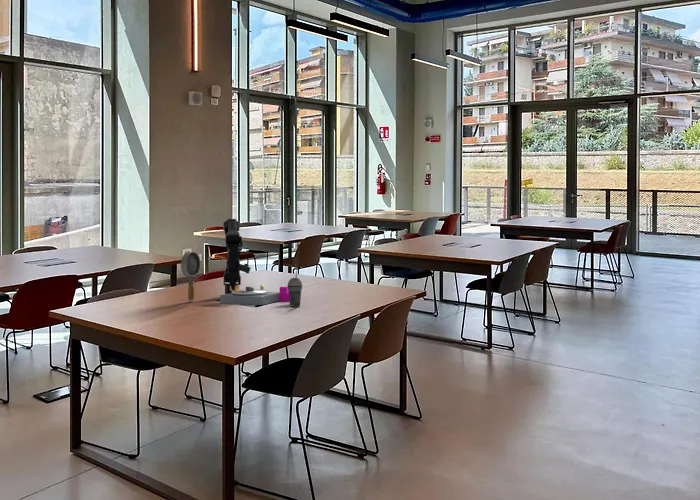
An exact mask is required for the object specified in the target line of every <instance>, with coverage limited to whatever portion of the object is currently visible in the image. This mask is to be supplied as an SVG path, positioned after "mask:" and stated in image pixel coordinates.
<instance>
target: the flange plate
mask: <svg viewBox="0 0 700 500" xmlns="http://www.w3.org/2000/svg"><path fill="white" fill-rule="evenodd" d="M230 291H232V294H235V295H262V294H267V293H268V292H269V291H268V290H266V289H264V290H261V288H260V289H257V288H256V289H255V288H254V286H245V289H240V285H235V290H232V288H231V285H230Z"/></svg>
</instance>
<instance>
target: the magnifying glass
mask: <svg viewBox="0 0 700 500" xmlns="http://www.w3.org/2000/svg"><path fill="white" fill-rule="evenodd" d="M180 261H181V262H180V269H181V272H182V274H183V276H185V277H187V278H188V287H187V289H188V290H187V296H188V297H187V299H188V301H189V302H190V301H191V302H193V301H195V299H194V298H195V288H194V280H193V279H194V277H196V276H197V275H198V274H199V273H200V269H201V259H200V256H199V254H198V253H197V252H196V251H186V252H185V253H184V254H183V255H182V256H181V260H180Z"/></svg>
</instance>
